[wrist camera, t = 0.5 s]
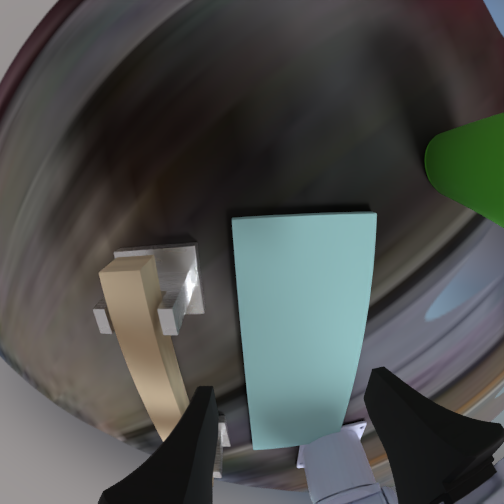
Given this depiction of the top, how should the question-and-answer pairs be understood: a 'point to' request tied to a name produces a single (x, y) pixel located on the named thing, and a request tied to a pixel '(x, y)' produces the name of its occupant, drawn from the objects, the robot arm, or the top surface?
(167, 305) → the hook stand
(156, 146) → the top surface
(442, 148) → the cup
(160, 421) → the rail
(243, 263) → the mat
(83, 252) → the top surface
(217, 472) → the hook stand
